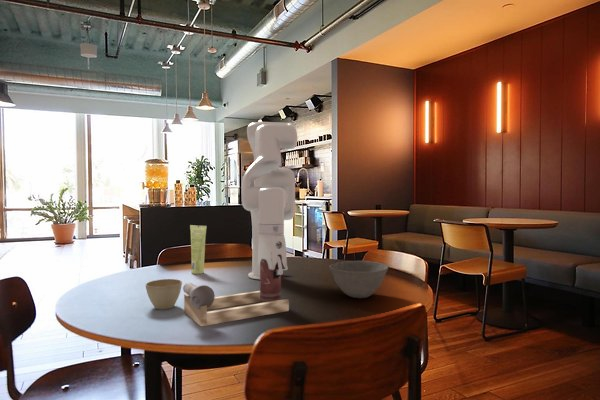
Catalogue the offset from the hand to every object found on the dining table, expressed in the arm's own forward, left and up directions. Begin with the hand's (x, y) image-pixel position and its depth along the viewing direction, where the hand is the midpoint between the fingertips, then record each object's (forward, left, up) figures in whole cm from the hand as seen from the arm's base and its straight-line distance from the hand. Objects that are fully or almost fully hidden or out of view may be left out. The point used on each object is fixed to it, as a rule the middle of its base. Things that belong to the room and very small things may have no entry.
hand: (270, 291), depth 121 cm
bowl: (-29, +5, -4) cm, 30 cm away
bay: (+12, +1, -4) cm, 13 cm away
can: (0, 0, -4) cm, 4 cm away
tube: (+3, -57, -4) cm, 57 cm away
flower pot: (+27, -15, -4) cm, 31 cm away
